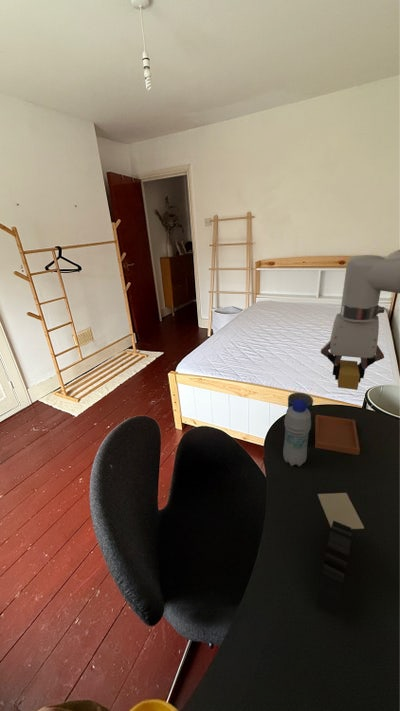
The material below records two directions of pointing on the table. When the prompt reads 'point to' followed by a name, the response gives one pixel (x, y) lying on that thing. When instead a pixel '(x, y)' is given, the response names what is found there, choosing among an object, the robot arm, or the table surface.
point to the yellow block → (348, 375)
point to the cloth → (340, 510)
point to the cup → (303, 397)
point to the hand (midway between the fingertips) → (347, 378)
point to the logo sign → (334, 569)
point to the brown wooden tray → (336, 434)
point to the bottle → (296, 433)
